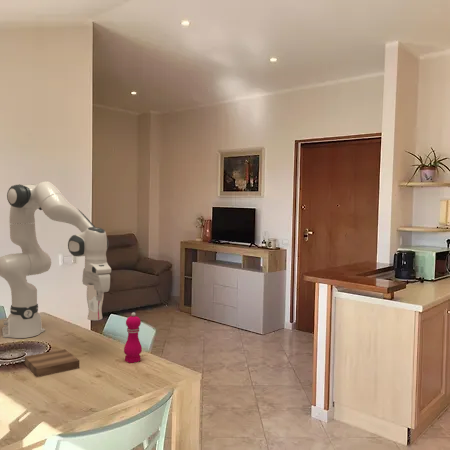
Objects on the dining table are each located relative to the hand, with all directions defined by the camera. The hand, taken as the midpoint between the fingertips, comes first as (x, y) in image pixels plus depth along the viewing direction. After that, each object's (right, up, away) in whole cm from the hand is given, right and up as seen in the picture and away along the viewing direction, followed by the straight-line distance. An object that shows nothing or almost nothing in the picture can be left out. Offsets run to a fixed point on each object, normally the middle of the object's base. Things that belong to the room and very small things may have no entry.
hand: (95, 298), depth 196 cm
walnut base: (-14, -24, -13) cm, 31 cm away
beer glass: (0, -9, +1) cm, 9 cm away
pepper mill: (+17, -25, -4) cm, 30 cm away
